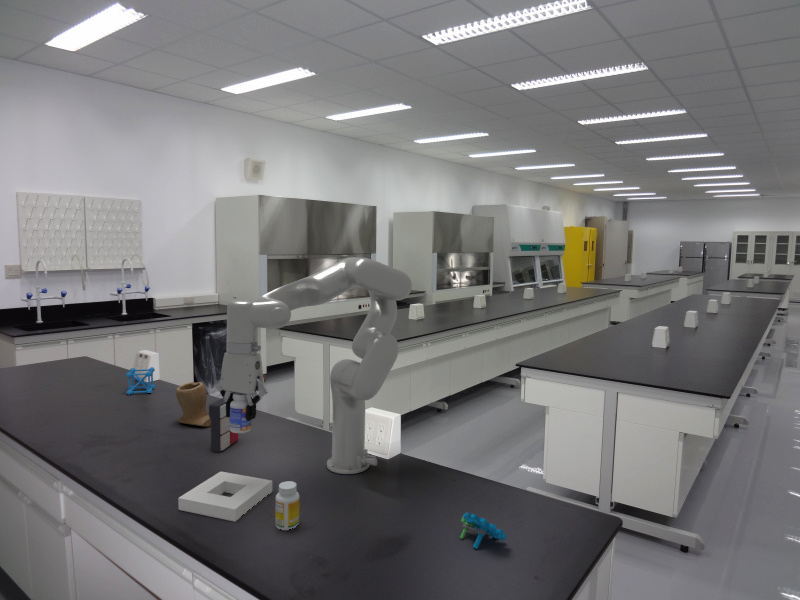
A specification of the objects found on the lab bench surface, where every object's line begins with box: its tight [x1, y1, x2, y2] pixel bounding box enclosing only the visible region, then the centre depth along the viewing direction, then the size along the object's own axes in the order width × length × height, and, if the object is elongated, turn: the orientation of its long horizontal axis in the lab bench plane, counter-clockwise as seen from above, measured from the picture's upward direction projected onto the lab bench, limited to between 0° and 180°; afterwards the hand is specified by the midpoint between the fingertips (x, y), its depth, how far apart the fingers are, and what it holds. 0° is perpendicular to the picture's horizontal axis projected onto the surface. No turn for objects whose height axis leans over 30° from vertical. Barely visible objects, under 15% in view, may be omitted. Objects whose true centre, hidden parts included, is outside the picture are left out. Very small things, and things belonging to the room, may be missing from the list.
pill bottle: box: [230, 393, 253, 434], centre depth 132 cm, size 5×5×10 cm
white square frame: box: [177, 471, 273, 523], centre depth 129 cm, size 16×16×3 cm
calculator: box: [208, 397, 239, 453], centre depth 164 cm, size 11×4×15 cm, turn 168°
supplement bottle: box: [274, 480, 300, 531], centre depth 118 cm, size 5×5×10 cm
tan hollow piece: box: [175, 381, 211, 427], centre depth 184 cm, size 15×12×15 cm
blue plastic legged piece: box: [459, 511, 508, 550], centre depth 112 cm, size 11×6×10 cm
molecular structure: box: [125, 366, 156, 396], centre depth 223 cm, size 10×10×10 cm
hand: (240, 416), depth 132 cm, fingers closed on pill bottle, 5 cm apart
